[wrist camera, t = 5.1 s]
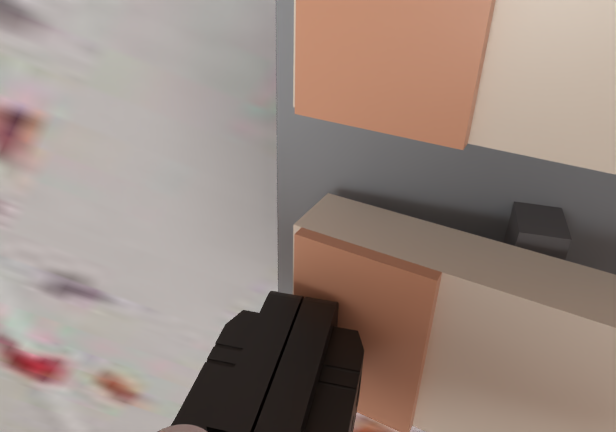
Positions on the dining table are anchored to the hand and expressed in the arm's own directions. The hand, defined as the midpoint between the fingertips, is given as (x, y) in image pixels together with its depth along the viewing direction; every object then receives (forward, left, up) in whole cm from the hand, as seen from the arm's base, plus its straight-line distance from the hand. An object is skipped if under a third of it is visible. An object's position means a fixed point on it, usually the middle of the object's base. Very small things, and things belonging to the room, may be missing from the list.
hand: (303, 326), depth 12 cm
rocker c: (-5, 0, 0) cm, 5 cm away
